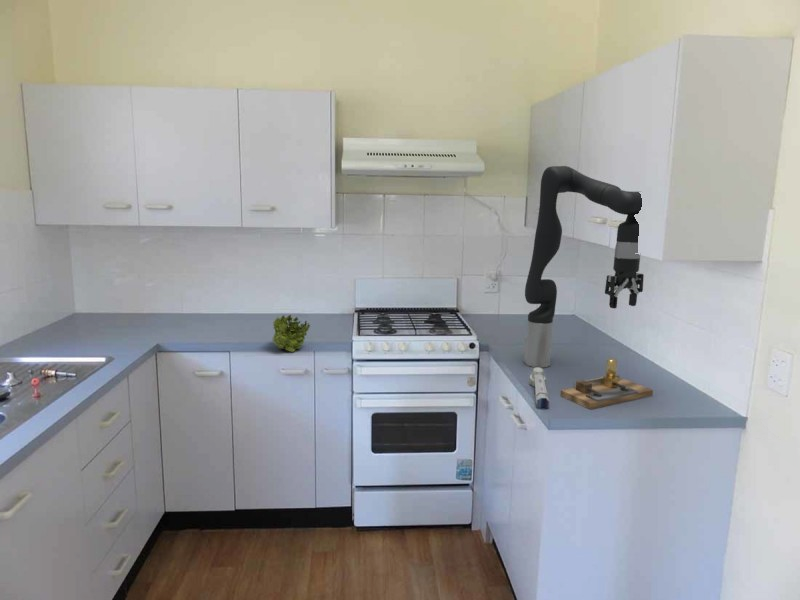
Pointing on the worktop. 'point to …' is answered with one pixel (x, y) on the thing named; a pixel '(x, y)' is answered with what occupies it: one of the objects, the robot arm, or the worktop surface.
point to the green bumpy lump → (289, 333)
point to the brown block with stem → (585, 387)
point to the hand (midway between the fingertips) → (622, 306)
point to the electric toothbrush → (539, 387)
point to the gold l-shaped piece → (611, 374)
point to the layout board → (606, 393)
